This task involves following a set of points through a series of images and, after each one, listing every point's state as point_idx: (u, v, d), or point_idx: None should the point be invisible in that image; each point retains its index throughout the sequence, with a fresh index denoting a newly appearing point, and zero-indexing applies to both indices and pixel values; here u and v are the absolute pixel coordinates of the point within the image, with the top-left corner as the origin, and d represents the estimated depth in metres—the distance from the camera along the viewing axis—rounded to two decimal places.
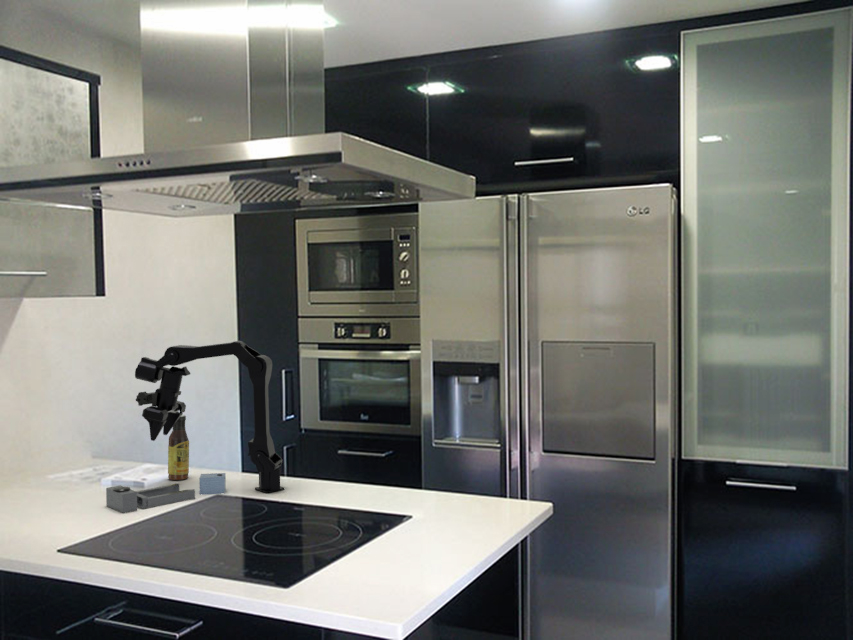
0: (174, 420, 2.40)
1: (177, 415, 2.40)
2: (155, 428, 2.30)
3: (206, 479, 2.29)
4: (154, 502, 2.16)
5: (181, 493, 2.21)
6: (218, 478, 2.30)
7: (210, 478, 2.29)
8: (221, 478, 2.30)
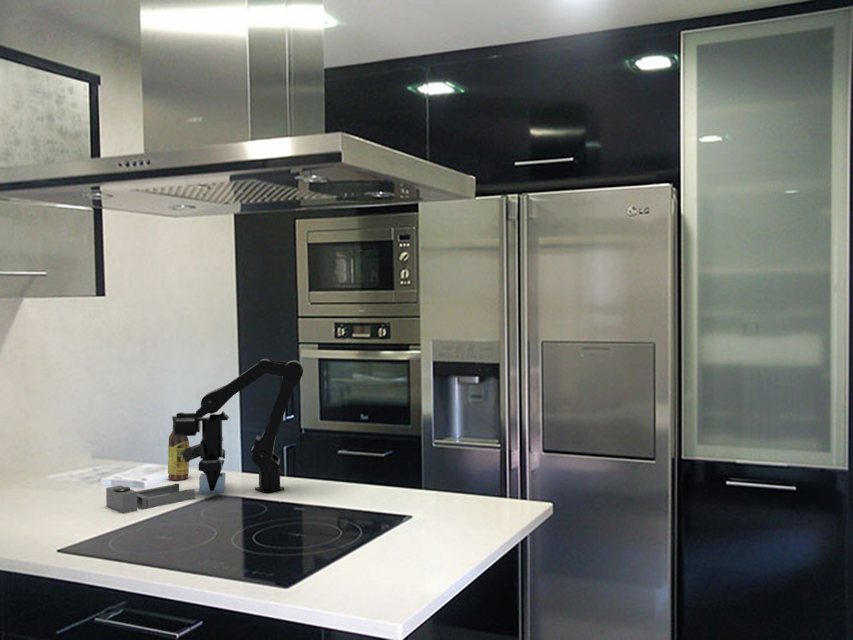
0: None
1: (221, 463, 2.35)
2: (213, 477, 2.28)
3: (206, 479, 2.29)
4: (154, 502, 2.16)
5: (181, 493, 2.21)
6: (218, 478, 2.30)
7: None
8: (221, 478, 2.30)
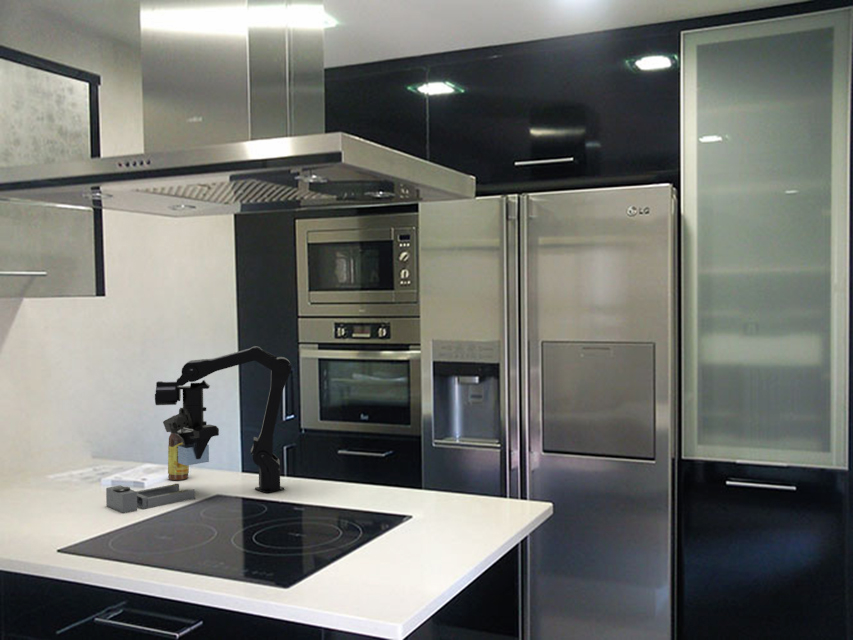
0: None
1: None
2: (202, 445, 2.27)
3: (192, 449, 2.26)
4: (154, 502, 2.16)
5: (181, 493, 2.21)
6: None
7: None
8: (206, 446, 2.29)
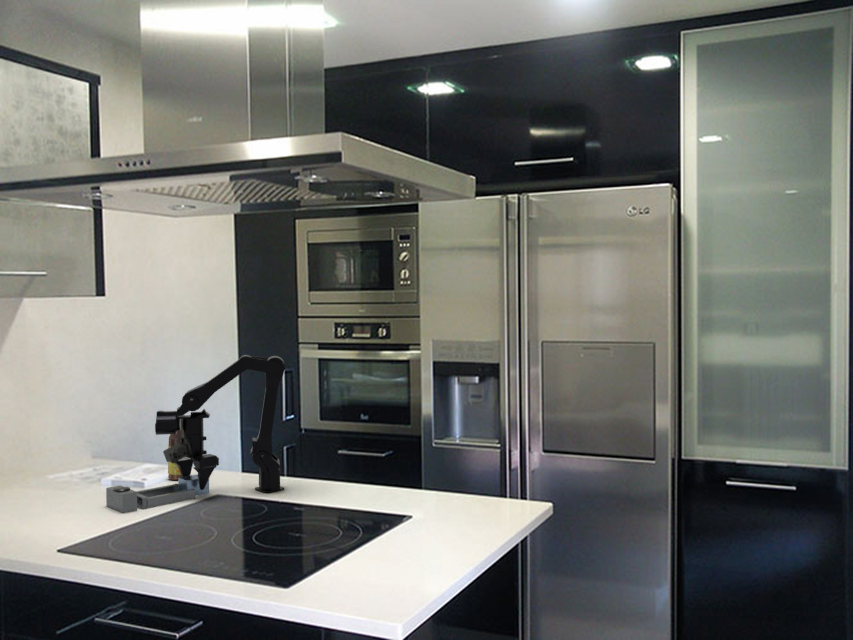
0: (190, 466, 2.34)
1: (192, 460, 2.35)
2: (205, 476, 2.26)
3: (192, 481, 2.27)
4: (154, 502, 2.16)
5: (181, 493, 2.21)
6: None
7: (196, 479, 2.27)
8: None
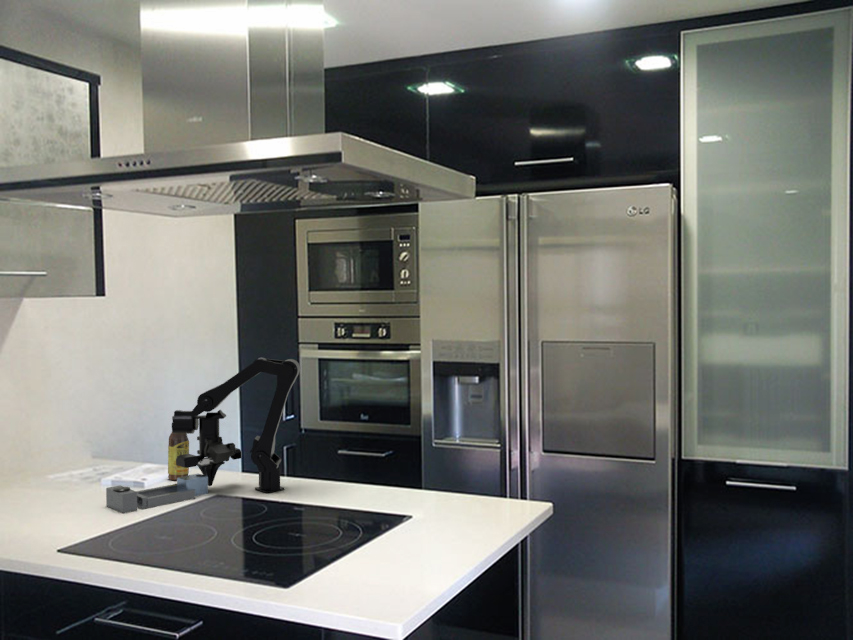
0: None
1: None
2: None
3: (192, 481, 2.26)
4: (154, 502, 2.16)
5: (181, 493, 2.21)
6: (202, 478, 2.29)
7: (195, 479, 2.27)
8: (205, 478, 2.29)
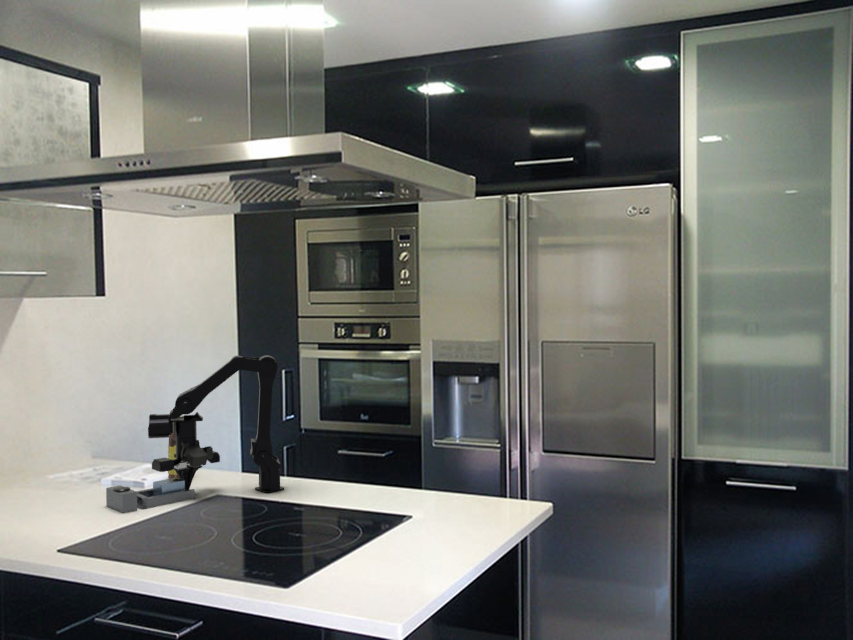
0: None
1: None
2: None
3: (167, 486, 2.21)
4: (154, 502, 2.16)
5: (181, 493, 2.21)
6: (179, 483, 2.23)
7: (172, 484, 2.22)
8: (182, 482, 2.24)
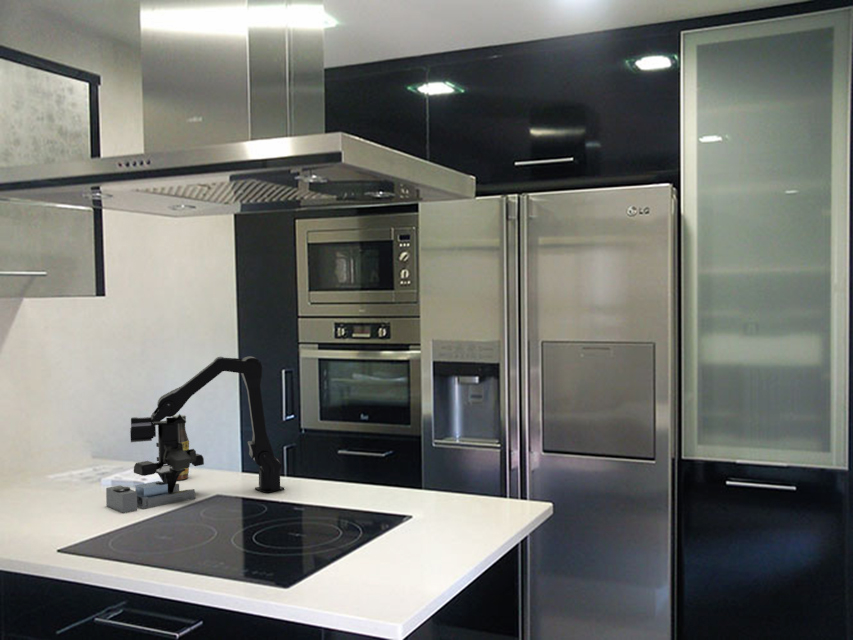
0: None
1: None
2: None
3: (150, 489, 2.17)
4: (154, 502, 2.16)
5: (181, 493, 2.21)
6: (162, 486, 2.20)
7: (154, 487, 2.18)
8: (165, 486, 2.20)
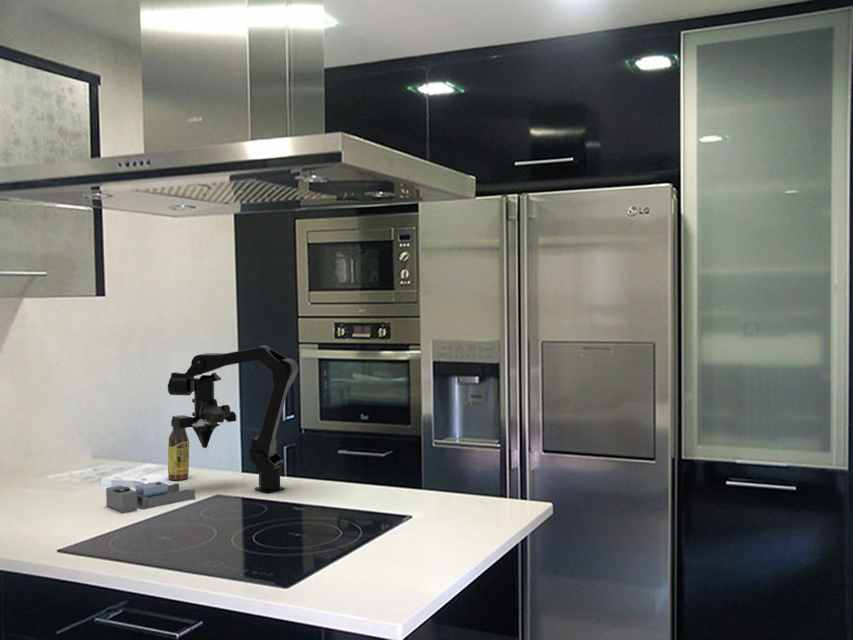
0: None
1: None
2: None
3: (150, 490, 2.17)
4: (154, 502, 2.16)
5: (181, 493, 2.21)
6: (162, 486, 2.20)
7: (154, 488, 2.18)
8: (164, 486, 2.20)
